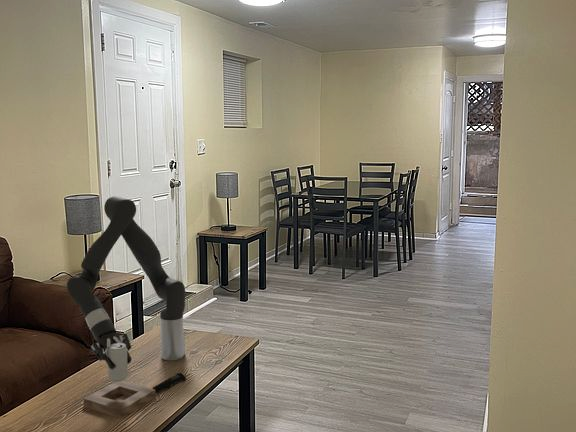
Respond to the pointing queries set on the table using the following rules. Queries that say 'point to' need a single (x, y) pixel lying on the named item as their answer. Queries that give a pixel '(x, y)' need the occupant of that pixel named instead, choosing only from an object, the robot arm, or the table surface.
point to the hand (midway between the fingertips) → (121, 365)
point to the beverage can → (118, 362)
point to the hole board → (118, 409)
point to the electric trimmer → (169, 382)
